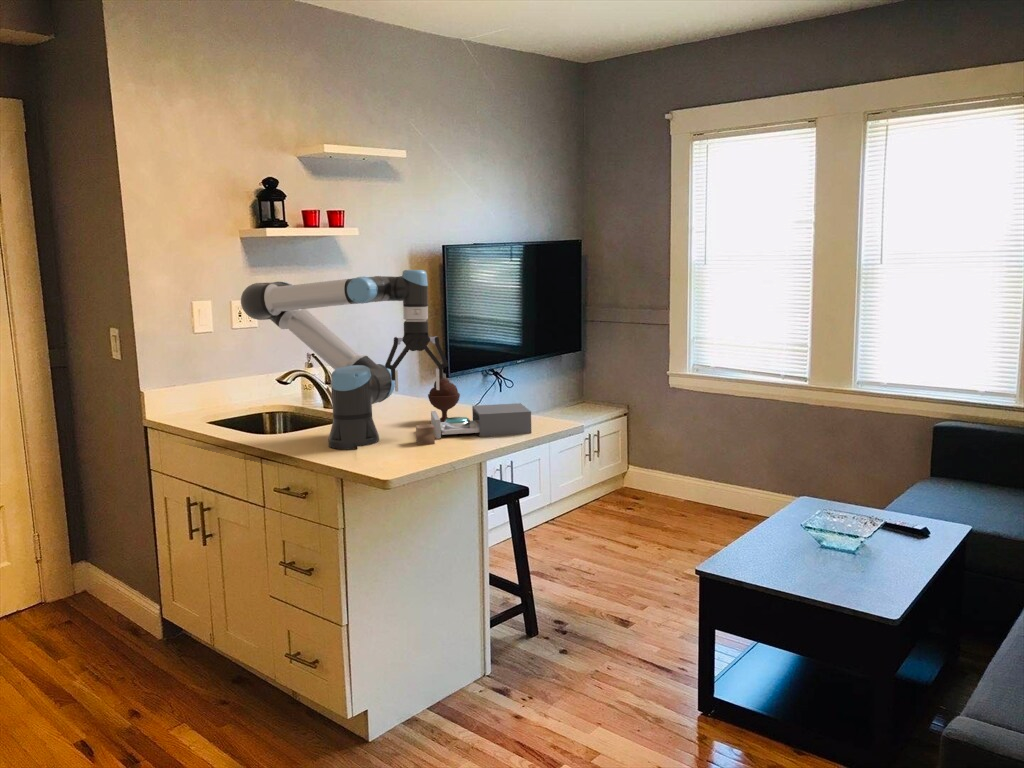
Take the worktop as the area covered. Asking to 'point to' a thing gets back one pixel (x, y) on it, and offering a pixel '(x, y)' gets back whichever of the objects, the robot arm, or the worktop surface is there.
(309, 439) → the worktop surface
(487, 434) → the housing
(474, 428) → the tray
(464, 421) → the disc
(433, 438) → the block
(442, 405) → the ice cream bowl
